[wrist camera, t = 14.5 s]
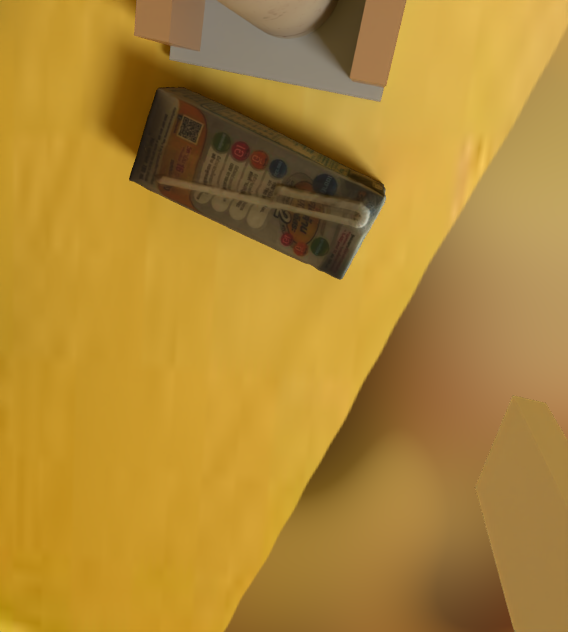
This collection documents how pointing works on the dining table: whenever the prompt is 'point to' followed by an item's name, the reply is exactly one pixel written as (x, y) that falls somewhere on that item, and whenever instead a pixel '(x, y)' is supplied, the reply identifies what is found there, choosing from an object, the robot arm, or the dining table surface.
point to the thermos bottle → (283, 15)
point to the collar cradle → (282, 43)
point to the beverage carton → (255, 180)
